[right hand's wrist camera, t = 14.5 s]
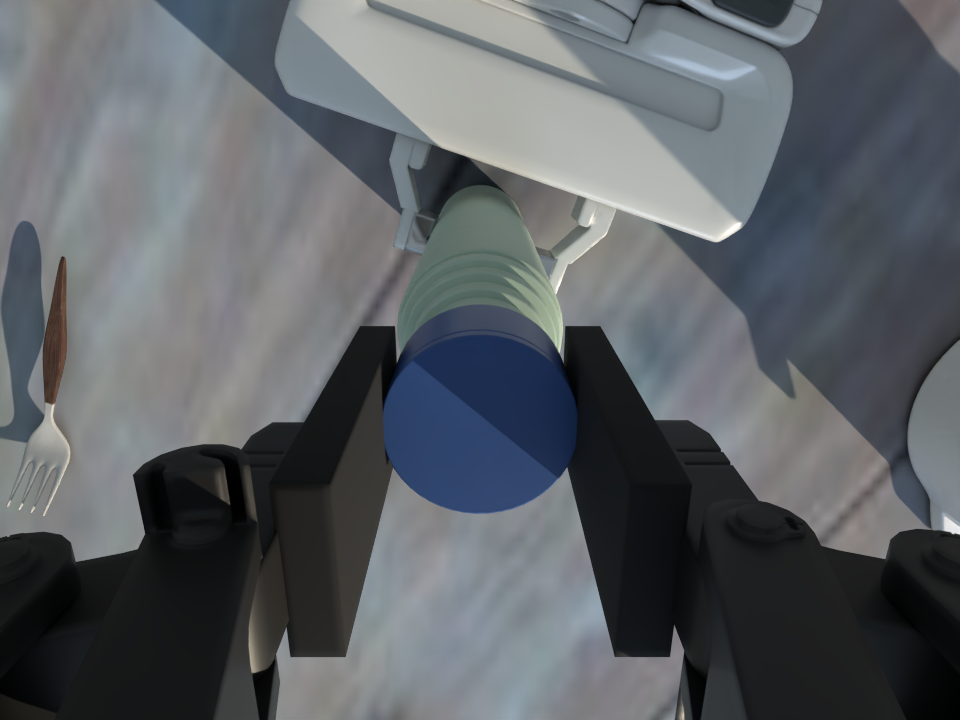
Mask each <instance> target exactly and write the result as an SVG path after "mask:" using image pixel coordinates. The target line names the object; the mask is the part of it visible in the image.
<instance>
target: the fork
mask: <svg viewBox="0 0 960 720" xmlns="http://www.w3.org/2000/svg"><path fill="white" fill-rule="evenodd" d="M66 350H67V329H66V259H65V257H61V260H60V263H59V267H58V272H57V277H56V282H55V287H54V293H53V298H52V304H51V309H50V314H49V318H48V323H47V327H46V332H45V338H44V345H43V376H44V394H45V416H44V419H43V421H42V423H41V424H40V425H39V426H38V427H37V428H36V429H35V431H34V432H33V433H32V434H31V436H30V438H29V440H28V442H27V445H26V448H25V452H24V456H23V460H22V464H21V467H20V470H19V473H18V476H17V479H16V481H15V484H14V487H13V490H12V493H11V495H10V498H9V501H8V503H7V505H6V506H7V507H8V506H9V504H10V502H11V500H12V498H13V496H14V494H15V492H16V490H17V488H18V486H19V484H20V482H21V480H22V478H23V475H24V473H25V471H26V469H27V467H28V465H29V464H30V463H31V462H32V463H33V469H32V473H31V476H30V479H29V481H28V484H27V487H26V490H25V493H24V496H23V498H22V501H21V504H20V506H19V510H20V509H21V507H22V505H23V503H24V501H25V499H26V497H27V495H28V493H29V491H30V489H31V487H32V485H33V483H34V480H35V478H36V476H37V474H38V472H39V470H40V468H41V467H42V466H43V465H44V466H45V472H44V475H43V478H42V481H41V484H40V487H39V490H38V493H37V496H36V499H35V501H34V504H33V507H32V509H31V513H32V512H33V510H34V508H35V506H36V504H37V502H38V500H39V498H40V496H41V494H42V492H43V490H44V487H45V485H46V483H47V481H48V479H49V476H50V474H51V472H52V471H53V470H54V469H57V474H56V478H55V481H54V484H53V487H52V490H51V493H50V495H49V498H48V501H47V504H46V507H45V510H44V512H43V514H42V515H43V516H44V515H45V513H46V511H47V509H48V507H49V505H50V503H51V501H52V499H53V496H54V494H55V492H56V490H57V488H58V486H59V483H60V481H61V479H62V476H63V474H64V472H65V469H66V467H67V465H68V462H69V459H70V447H69V444H68V442H67V440H66V438H65V437H64V435H63V434H62V433H61V431H60V430H59V429H58V427H57V425H56V424H55V422H54V419H53V410H54V405H55V401H56V397H57V393H58V389H59V385H60V381H61V377H62V373H63V368H64V364H65V358H66Z"/></svg>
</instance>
